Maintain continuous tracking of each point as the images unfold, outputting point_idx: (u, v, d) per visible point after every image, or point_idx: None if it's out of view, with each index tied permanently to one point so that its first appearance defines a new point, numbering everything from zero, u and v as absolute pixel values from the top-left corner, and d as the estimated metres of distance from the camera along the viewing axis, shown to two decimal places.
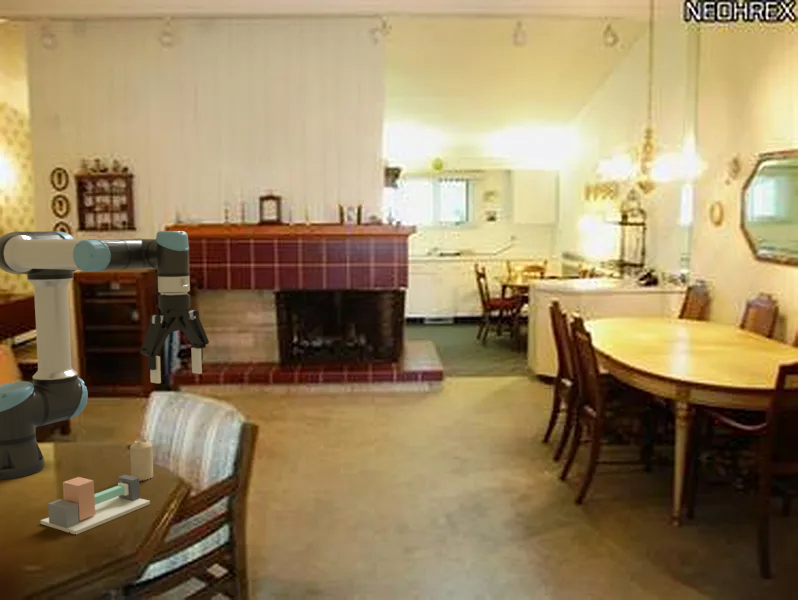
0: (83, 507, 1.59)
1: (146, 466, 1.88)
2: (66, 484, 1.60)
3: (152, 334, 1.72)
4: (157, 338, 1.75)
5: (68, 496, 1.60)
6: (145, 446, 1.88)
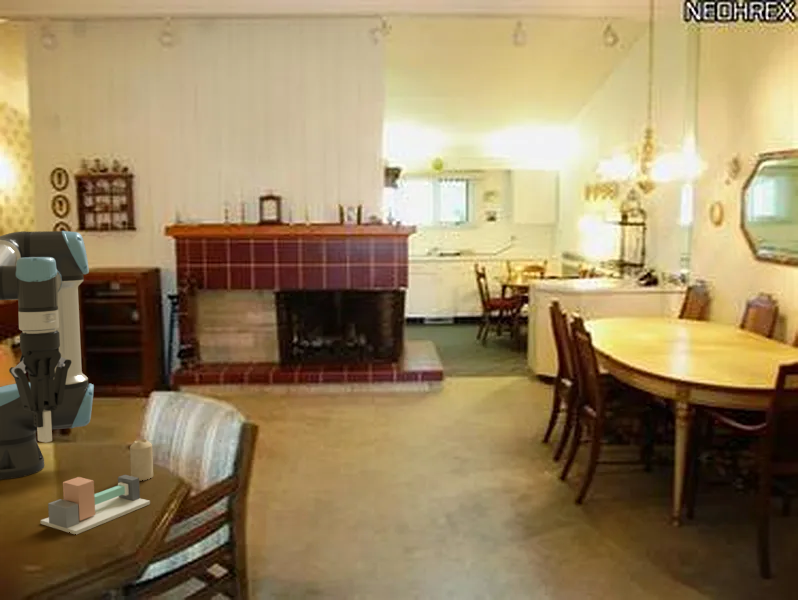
0: (83, 507, 1.59)
1: (146, 466, 1.88)
2: (66, 484, 1.60)
3: (24, 390, 1.48)
4: (33, 390, 1.51)
5: (68, 496, 1.60)
6: (145, 446, 1.88)
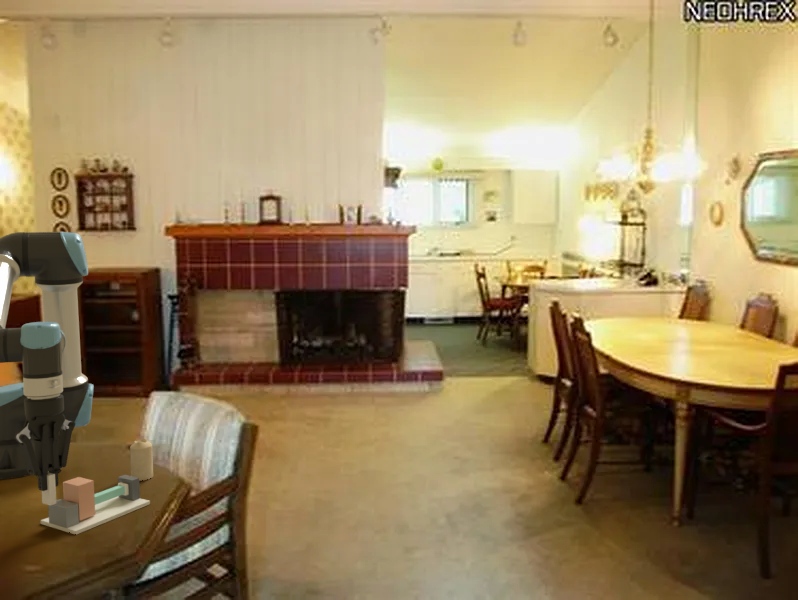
0: (83, 507, 1.59)
1: (146, 466, 1.88)
2: (66, 484, 1.60)
3: (28, 455, 1.49)
4: (37, 454, 1.52)
5: (68, 496, 1.60)
6: (145, 446, 1.88)
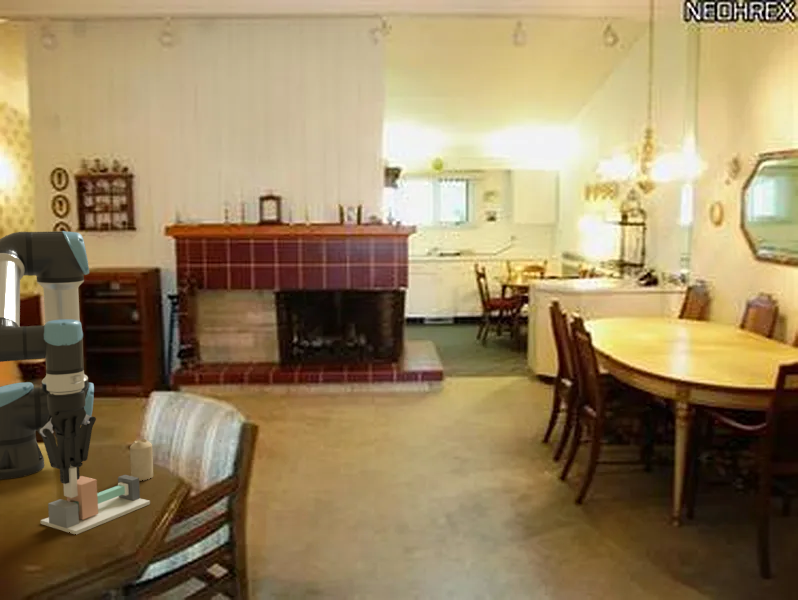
0: (86, 506, 1.60)
1: (146, 466, 1.88)
2: None
3: (51, 449, 1.54)
4: (60, 448, 1.57)
5: None
6: (145, 446, 1.88)
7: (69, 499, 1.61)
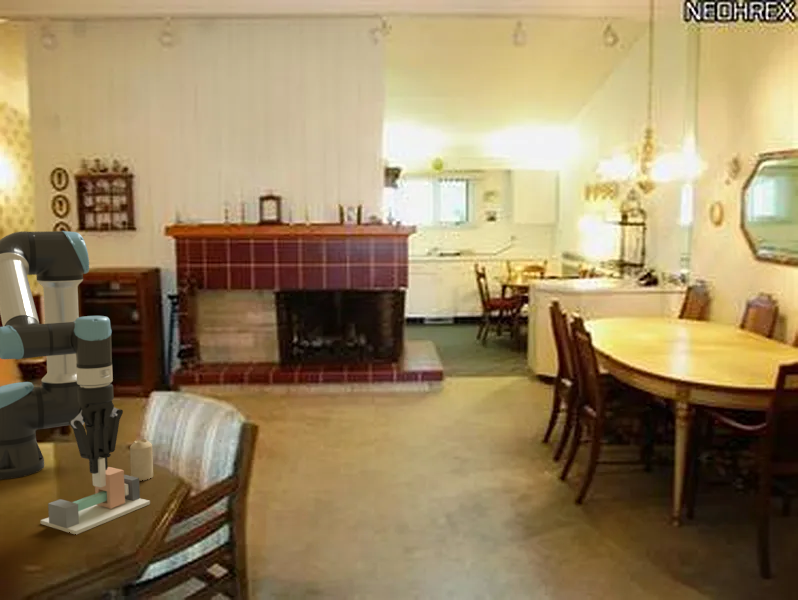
0: (114, 496, 1.66)
1: (146, 466, 1.88)
2: None
3: (82, 440, 1.60)
4: (89, 439, 1.63)
5: None
6: (145, 446, 1.88)
7: (97, 489, 1.67)
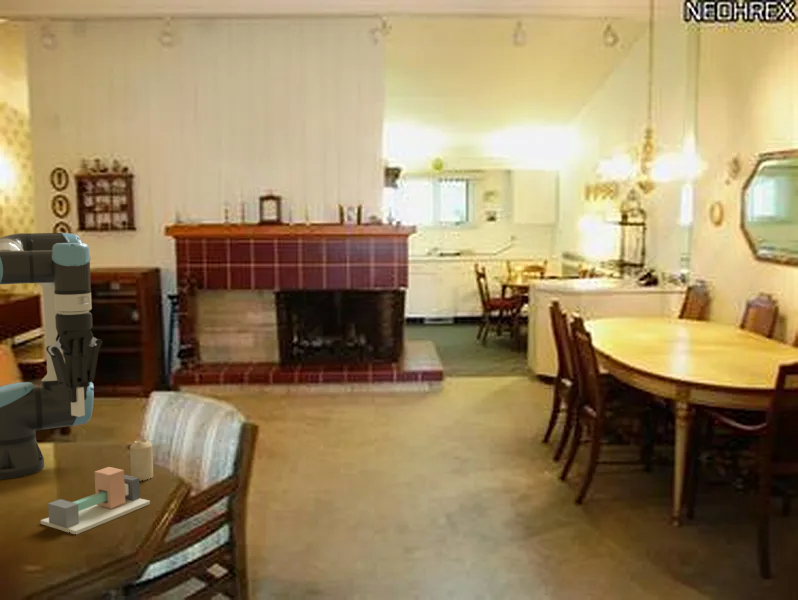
0: (114, 496, 1.66)
1: (146, 466, 1.88)
2: (98, 473, 1.67)
3: (59, 367, 1.58)
4: (67, 368, 1.61)
5: (100, 485, 1.67)
6: (145, 446, 1.88)
7: (97, 489, 1.67)
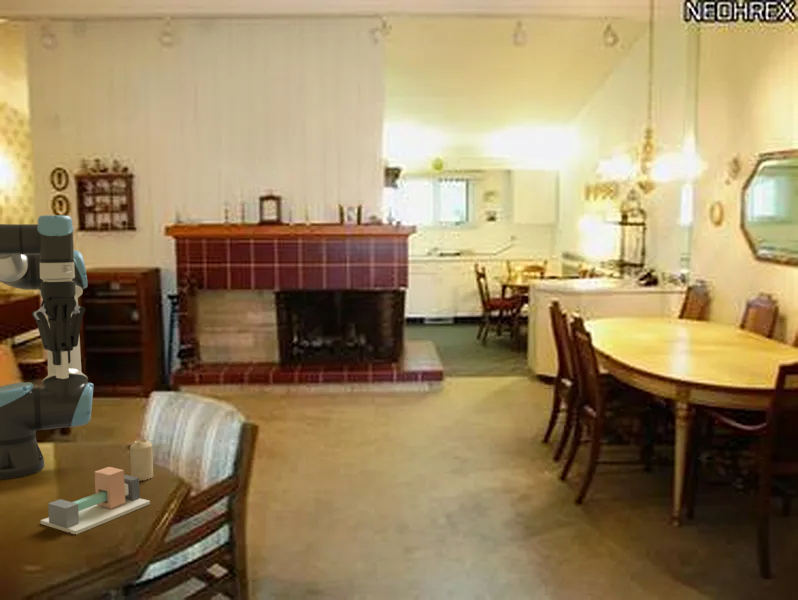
0: (114, 496, 1.66)
1: (146, 466, 1.88)
2: (98, 473, 1.67)
3: (44, 331, 1.69)
4: (52, 332, 1.72)
5: (100, 485, 1.67)
6: (145, 446, 1.88)
7: (97, 489, 1.67)
